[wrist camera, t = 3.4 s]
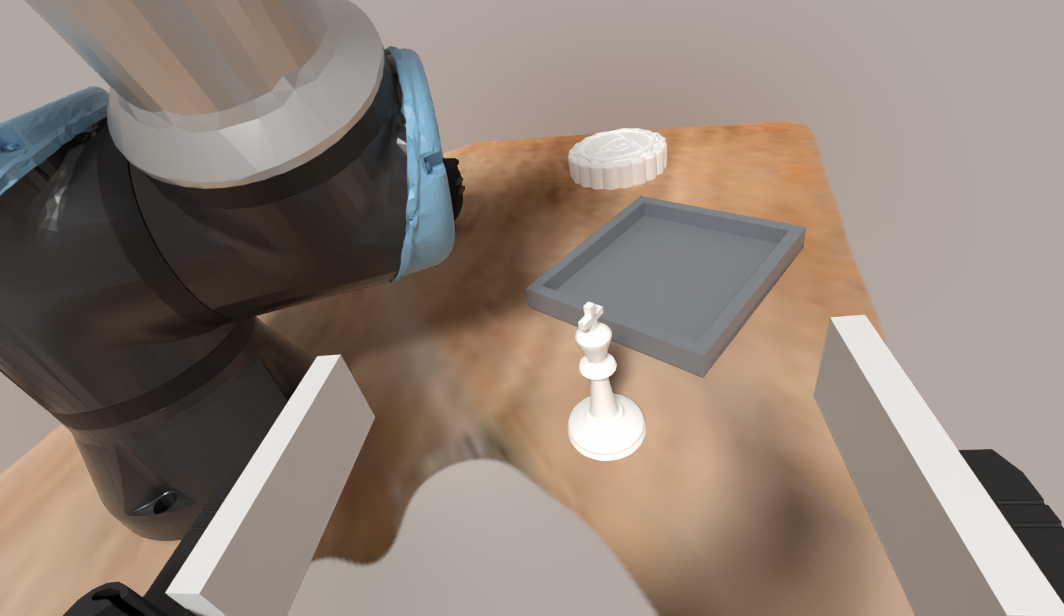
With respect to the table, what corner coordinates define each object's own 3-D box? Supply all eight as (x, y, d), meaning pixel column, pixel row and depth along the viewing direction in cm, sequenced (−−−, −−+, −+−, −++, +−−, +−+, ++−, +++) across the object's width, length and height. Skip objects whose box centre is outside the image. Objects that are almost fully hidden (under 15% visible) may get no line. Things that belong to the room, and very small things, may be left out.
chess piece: (552, 439, 32) (523, 318, 26) (595, 388, 35) (577, 269, 29) (619, 475, 29) (603, 349, 23) (660, 417, 32) (655, 291, 26)
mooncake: (556, 169, 67) (552, 143, 65) (637, 144, 69) (635, 117, 67) (595, 202, 58) (592, 172, 55) (687, 171, 60) (687, 141, 57)
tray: (529, 307, 44) (525, 288, 42) (641, 213, 53) (640, 196, 52) (703, 377, 34) (704, 356, 33) (803, 247, 43) (806, 227, 42)
